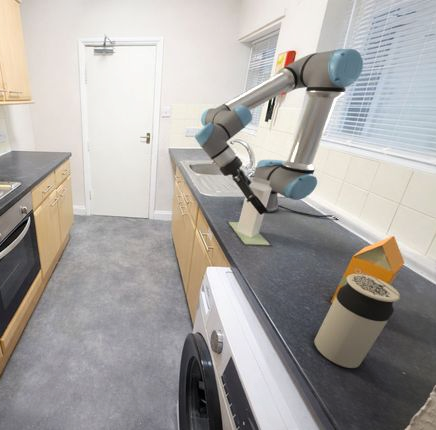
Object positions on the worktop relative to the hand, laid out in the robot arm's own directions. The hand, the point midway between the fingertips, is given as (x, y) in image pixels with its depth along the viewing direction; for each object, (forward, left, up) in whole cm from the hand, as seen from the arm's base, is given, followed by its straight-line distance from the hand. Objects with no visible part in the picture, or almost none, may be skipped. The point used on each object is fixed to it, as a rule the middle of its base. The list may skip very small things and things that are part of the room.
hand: (261, 205), depth 99 cm
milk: (+2, -1, -12) cm, 12 cm away
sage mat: (+2, -1, -12) cm, 12 cm away
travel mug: (+5, +52, -12) cm, 54 cm away
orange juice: (-10, +37, -12) cm, 41 cm away
